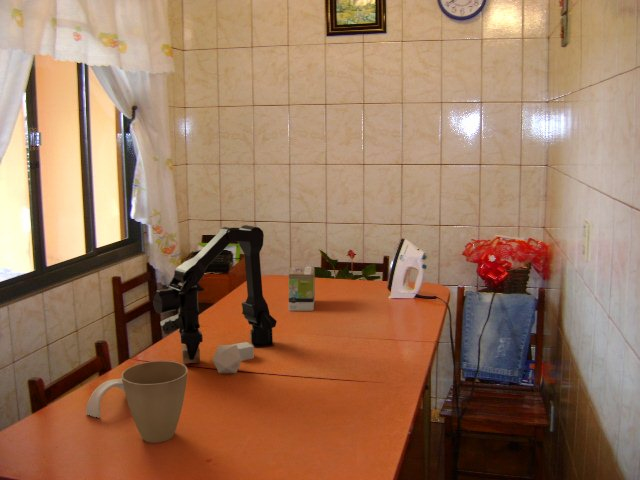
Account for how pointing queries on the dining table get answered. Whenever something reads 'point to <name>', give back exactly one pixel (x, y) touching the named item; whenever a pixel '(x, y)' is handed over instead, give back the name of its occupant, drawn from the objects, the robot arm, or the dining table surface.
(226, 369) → the pale faceted polyhedron
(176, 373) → the plant pot
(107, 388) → the white curved arch
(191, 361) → the walnut block
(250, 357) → the grey block
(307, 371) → the dining table surface
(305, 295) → the tea box
